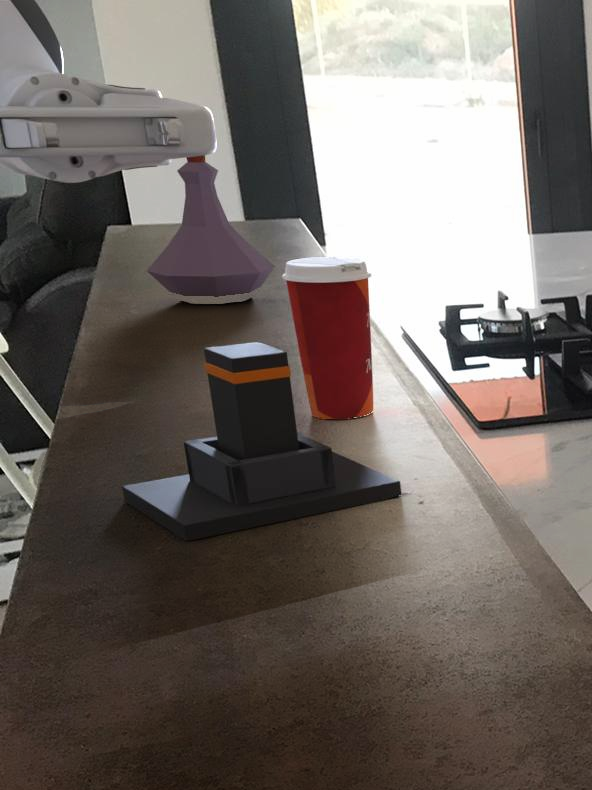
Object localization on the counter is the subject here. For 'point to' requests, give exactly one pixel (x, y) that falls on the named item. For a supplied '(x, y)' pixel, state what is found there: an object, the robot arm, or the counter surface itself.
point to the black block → (251, 400)
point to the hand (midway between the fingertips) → (114, 134)
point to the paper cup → (333, 333)
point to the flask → (207, 244)
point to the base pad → (256, 489)
